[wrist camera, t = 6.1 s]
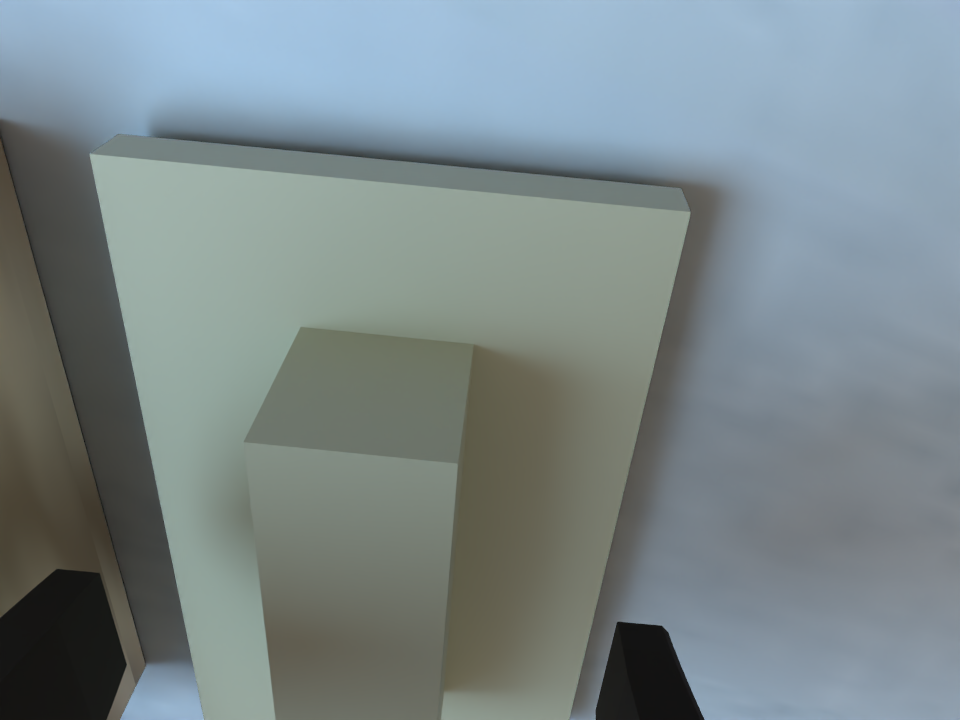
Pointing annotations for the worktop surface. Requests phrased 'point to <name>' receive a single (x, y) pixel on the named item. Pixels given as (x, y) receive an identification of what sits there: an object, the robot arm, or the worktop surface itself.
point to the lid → (385, 416)
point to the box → (46, 452)
